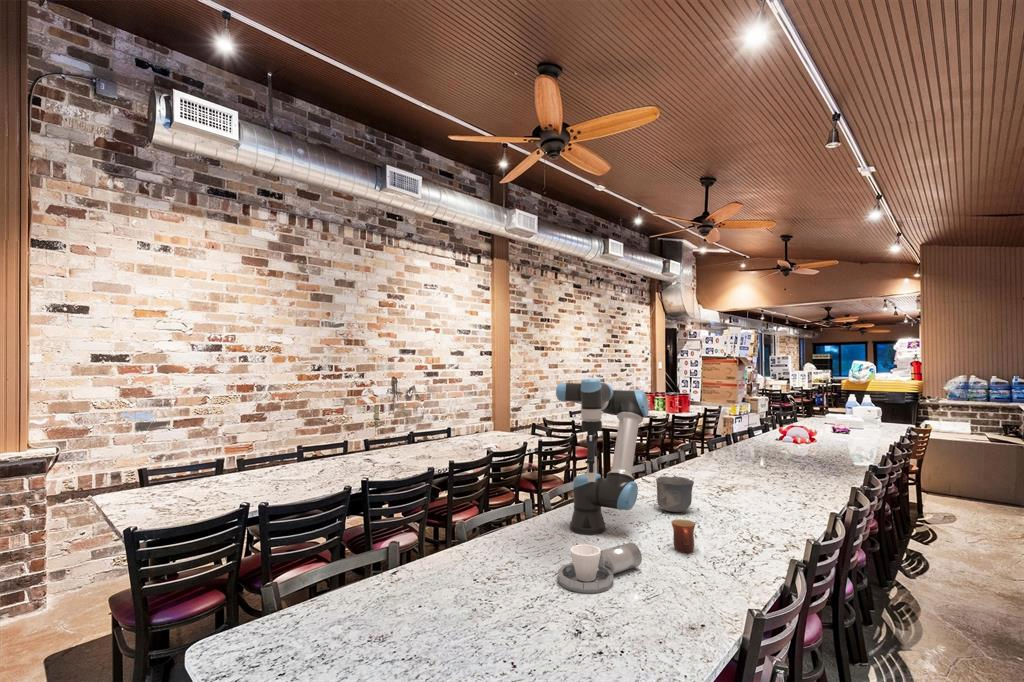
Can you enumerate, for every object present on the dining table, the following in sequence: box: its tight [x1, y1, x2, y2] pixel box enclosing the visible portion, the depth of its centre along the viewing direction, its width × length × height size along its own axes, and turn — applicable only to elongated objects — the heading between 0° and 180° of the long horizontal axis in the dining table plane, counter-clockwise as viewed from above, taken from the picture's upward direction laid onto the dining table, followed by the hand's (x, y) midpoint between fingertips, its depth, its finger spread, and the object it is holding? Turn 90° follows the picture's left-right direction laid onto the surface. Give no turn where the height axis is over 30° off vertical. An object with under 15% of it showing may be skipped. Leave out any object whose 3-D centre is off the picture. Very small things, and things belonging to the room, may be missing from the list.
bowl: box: [655, 475, 695, 513], centre depth 240 cm, size 18×18×15 cm
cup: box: [569, 543, 601, 582], centre depth 164 cm, size 10×10×9 cm
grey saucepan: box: [557, 542, 643, 595], centre depth 167 cm, size 31×18×8 cm, turn 123°
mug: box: [671, 518, 696, 554], centre depth 189 cm, size 12×9×10 cm
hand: (592, 477), depth 187 cm, fingers open, 13 cm apart
